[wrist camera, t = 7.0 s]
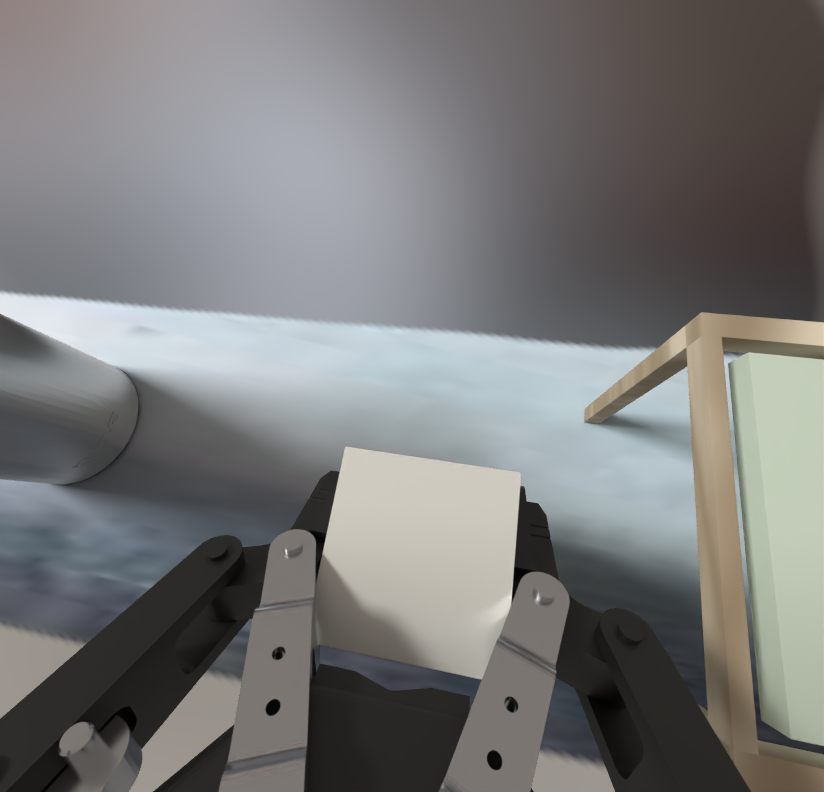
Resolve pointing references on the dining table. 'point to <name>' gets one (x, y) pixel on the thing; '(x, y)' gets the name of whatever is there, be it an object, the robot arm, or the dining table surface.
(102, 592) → the dining table surface
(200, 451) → the dining table surface
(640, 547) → the dining table surface
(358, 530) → the white rectangular block
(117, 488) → the dining table surface
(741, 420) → the trapdoor
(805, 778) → the trapdoor frame
